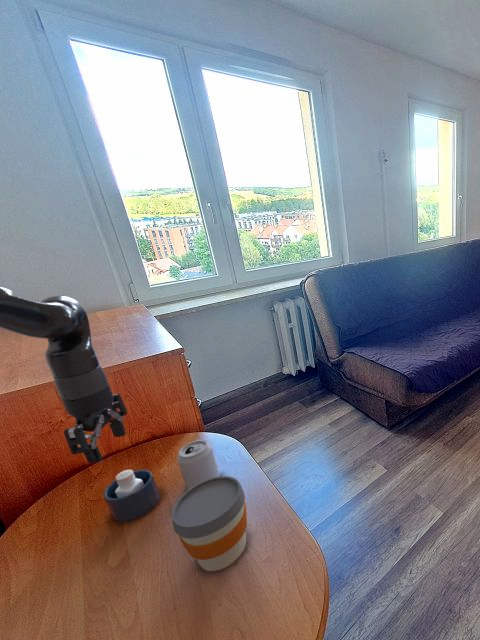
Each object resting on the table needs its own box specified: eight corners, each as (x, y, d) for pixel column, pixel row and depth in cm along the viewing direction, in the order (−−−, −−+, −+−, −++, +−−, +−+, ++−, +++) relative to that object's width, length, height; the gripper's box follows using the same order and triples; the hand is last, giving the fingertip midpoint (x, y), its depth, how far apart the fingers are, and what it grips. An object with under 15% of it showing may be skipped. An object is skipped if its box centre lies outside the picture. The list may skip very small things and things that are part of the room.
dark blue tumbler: (128, 527, 78) (118, 505, 75) (105, 514, 81) (94, 492, 78) (168, 496, 86) (160, 475, 83) (145, 485, 89) (137, 465, 86)
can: (192, 475, 92) (181, 440, 88) (223, 469, 94) (213, 435, 90) (183, 497, 85) (170, 461, 81) (216, 490, 87) (205, 454, 83)
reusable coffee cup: (262, 552, 72) (249, 502, 67) (194, 595, 65) (174, 542, 59) (246, 513, 81) (234, 465, 76) (185, 546, 73) (166, 496, 68)
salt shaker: (121, 510, 81) (108, 480, 78) (135, 496, 85) (123, 467, 81) (137, 510, 81) (124, 481, 78) (150, 496, 85) (139, 468, 81)
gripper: (87, 373, 77) (110, 430, 83) (34, 409, 64) (65, 474, 70) (125, 370, 79) (144, 426, 85) (80, 405, 66) (107, 468, 72)
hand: (108, 447), depth 77 cm, fingers open, 8 cm apart
